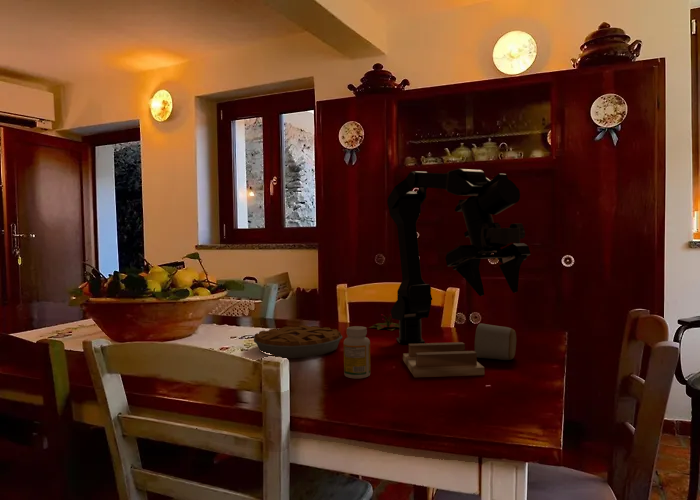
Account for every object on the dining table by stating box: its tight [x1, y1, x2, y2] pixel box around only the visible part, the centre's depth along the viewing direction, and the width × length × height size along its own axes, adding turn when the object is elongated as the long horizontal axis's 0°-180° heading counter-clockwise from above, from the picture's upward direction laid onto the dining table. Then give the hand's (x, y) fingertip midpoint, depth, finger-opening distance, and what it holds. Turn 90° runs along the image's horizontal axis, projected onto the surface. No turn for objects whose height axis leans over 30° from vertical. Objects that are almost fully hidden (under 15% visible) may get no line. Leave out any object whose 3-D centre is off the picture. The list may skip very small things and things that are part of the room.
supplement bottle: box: [343, 325, 371, 380], centre depth 102 cm, size 5×5×10 cm
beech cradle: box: [402, 341, 486, 378], centre depth 107 cm, size 14×14×4 cm
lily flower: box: [367, 313, 399, 331], centre depth 155 cm, size 12×12×5 cm
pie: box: [253, 324, 343, 359], centre depth 128 cm, size 22×22×5 cm
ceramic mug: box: [474, 323, 517, 361], centre depth 115 cm, size 11×8×8 cm
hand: (499, 294), depth 105 cm, fingers open, 9 cm apart
